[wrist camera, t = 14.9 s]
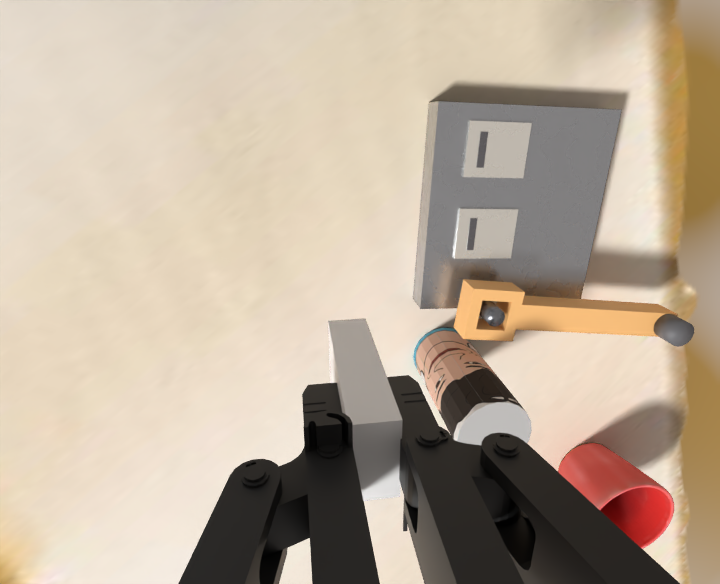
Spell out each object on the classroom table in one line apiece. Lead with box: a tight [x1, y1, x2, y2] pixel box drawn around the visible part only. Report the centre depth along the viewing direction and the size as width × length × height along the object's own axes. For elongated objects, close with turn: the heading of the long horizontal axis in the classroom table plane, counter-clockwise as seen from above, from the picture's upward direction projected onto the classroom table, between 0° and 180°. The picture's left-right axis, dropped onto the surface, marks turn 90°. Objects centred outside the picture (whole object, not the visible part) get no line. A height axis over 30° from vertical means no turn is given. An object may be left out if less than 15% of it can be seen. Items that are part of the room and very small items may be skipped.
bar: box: [454, 279, 694, 346], centre depth 47 cm, size 23×5×5 cm, turn 83°
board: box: [413, 101, 621, 327], centre depth 45 cm, size 20×18×8 cm
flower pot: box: [558, 443, 674, 549], centre depth 59 cm, size 11×11×10 cm
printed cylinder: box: [414, 328, 532, 445], centre depth 47 cm, size 7×7×15 cm
